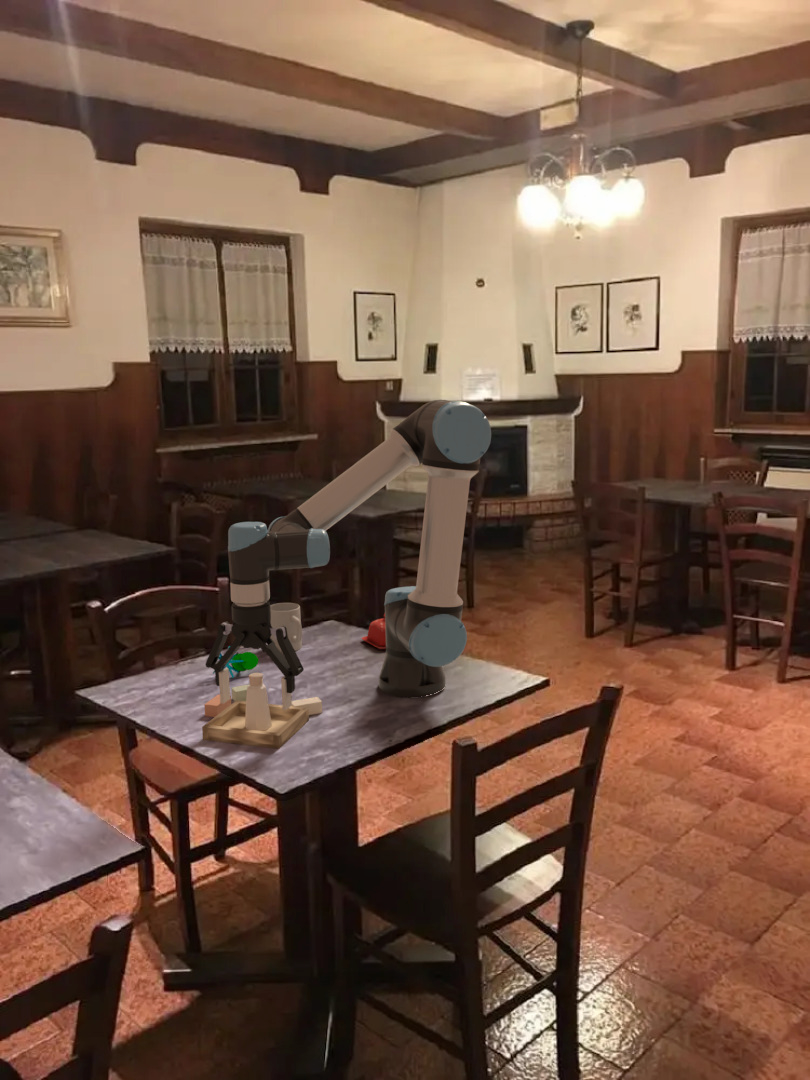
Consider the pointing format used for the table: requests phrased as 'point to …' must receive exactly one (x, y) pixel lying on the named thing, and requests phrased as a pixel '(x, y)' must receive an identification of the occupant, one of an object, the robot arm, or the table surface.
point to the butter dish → (377, 634)
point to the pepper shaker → (257, 704)
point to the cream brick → (309, 705)
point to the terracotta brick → (215, 706)
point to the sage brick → (239, 693)
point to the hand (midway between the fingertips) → (255, 704)
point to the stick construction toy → (241, 662)
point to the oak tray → (234, 731)
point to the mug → (287, 622)
